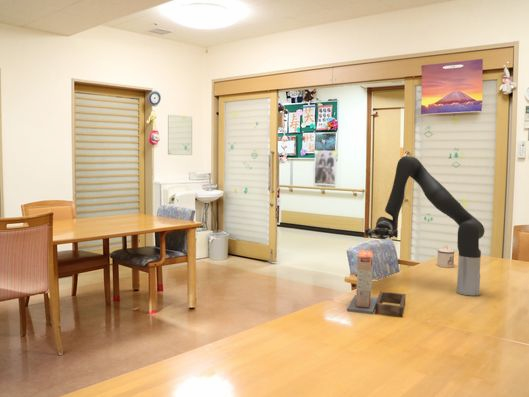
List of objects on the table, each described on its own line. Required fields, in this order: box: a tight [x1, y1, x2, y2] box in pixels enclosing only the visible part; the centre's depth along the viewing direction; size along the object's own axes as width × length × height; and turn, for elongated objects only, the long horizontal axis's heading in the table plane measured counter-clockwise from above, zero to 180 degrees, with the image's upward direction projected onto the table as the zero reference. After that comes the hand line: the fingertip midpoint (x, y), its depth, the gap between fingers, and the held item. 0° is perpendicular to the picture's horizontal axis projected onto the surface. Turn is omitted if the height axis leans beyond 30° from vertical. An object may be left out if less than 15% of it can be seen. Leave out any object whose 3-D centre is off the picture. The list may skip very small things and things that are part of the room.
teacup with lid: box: [436, 245, 455, 269], centre depth 275 cm, size 12×9×12 cm
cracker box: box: [355, 249, 374, 308], centre depth 200 cm, size 14×6×21 cm, turn 167°
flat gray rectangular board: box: [346, 294, 378, 315], centre depth 201 cm, size 10×20×1 cm, turn 161°
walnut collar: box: [374, 291, 406, 318], centre depth 197 cm, size 10×18×4 cm, turn 161°
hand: (379, 235), depth 213 cm, fingers open, 8 cm apart
